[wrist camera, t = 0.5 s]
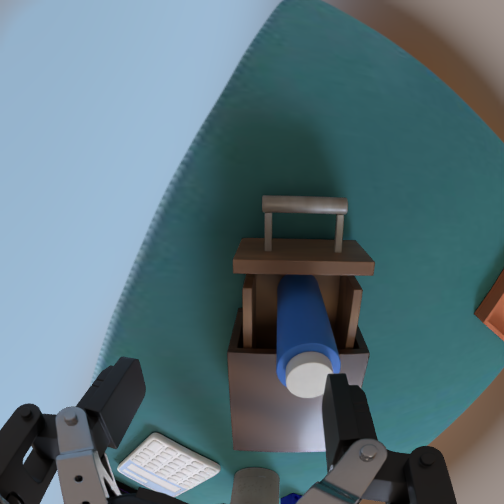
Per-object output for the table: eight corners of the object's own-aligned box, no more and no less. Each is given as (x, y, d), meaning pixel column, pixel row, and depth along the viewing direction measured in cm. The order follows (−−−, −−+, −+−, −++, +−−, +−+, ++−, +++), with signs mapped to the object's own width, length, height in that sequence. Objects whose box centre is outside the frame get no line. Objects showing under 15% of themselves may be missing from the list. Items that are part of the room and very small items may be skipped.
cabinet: (238, 307, 34) (227, 352, 26) (351, 309, 33) (369, 353, 25) (241, 402, 39) (233, 450, 30) (334, 403, 38) (342, 450, 29)
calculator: (223, 464, 44) (222, 473, 42) (173, 493, 49) (171, 500, 47) (155, 429, 42) (151, 437, 40) (117, 464, 48) (114, 471, 46)
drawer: (241, 190, 30) (231, 199, 23) (358, 193, 29) (380, 203, 22) (243, 351, 35) (236, 390, 29) (341, 352, 34) (351, 390, 28)
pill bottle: (277, 270, 31) (277, 354, 17) (320, 270, 30) (348, 353, 17) (276, 308, 32) (274, 404, 18) (317, 308, 32) (338, 403, 18)
